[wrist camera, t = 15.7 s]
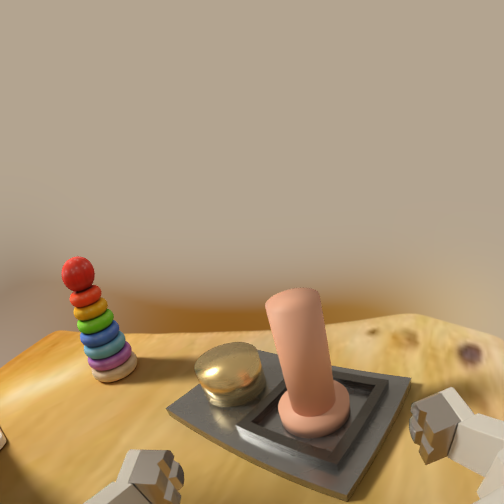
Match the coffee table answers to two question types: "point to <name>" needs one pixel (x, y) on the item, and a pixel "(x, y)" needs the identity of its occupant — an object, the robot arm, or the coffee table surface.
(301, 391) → the pink peg on base
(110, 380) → the stacking toy
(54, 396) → the coffee table surface
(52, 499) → the coffee table surface
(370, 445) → the carrier plate
